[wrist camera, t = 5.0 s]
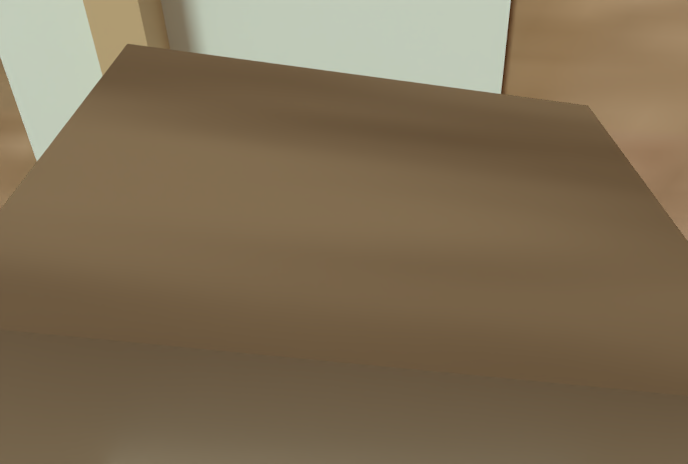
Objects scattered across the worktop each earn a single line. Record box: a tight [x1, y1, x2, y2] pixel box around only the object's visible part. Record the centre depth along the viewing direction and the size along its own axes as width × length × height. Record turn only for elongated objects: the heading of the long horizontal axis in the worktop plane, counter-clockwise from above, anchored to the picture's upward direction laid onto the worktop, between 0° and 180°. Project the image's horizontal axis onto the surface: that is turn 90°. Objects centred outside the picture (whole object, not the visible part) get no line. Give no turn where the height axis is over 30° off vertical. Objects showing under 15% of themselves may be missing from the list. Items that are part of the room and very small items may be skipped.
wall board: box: [0, 0, 511, 161], centre depth 21 cm, size 13×29×3 cm, turn 2°
